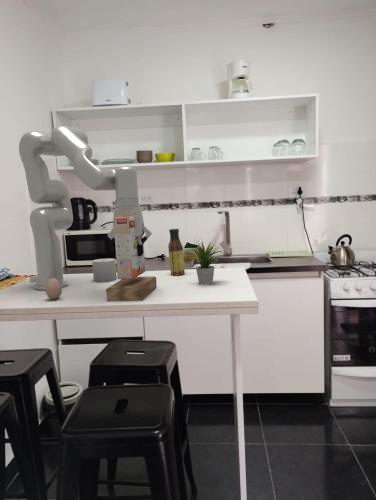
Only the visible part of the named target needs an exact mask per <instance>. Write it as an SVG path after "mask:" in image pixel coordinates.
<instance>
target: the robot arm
mask: <svg viewBox="0 0 376 500" xmlns="http://www.w3.org/2000/svg"><path fill="white" fill-rule="evenodd" d="M18 152H19V156H20V160H21V163H22V166H23V168H24V169H23V170H24V172H25V178H26V179H25V180H26V186H27V189H28V194H29V198H30V201H31V202H33V203H34V204H37V205H39V204H40V205H46V204H51V206H42V207H37V208H35V209H34V210H32V211H31V212H30V214H29V225H30V227H31V230H32V234H33V235H32V236H33V240H34V249H35V259H36V260H35V261H36V269H37V270H36V271H37V272H36V273H37V276H31V277H30V278H29V283H35V285H34V289H35V290H39V291H46V285H47V282H48V281H49V280H50V279H52V278H54V279H57V280H58V281H59V282H60V284H61V287H62V288H65V287H68V285H69V282H68V281H65V280H64V272H63V262H62V261H63V259H62V257H63V256H62V248H61V247H62V246H61V242H60V241H61V240H60V238H59V236H58V235H57V232H56V231H62V230H67V229H69V228H70V227H71V226H72V224H73V222H74V214H73V207H72V203H71V196H70V192H69V189H68V188H69V187H68V186H67V185H66V184H65V183H64V182H63V181H62V180H59V179H51V178H50V173H49V168H48V165H47V163H46V162H45V160H44V159H43V158H42V157H41V155H42V156H44V155H45V156H54V157H62V156H63V157H64V156H65V158H67V159H68V160H69V161H70V162H71V163H72V166H73V170H74V171H73V172H74V174H75V175H76V177H77V178H78V180H80V181H81V182H82V184H84V185H85V186H86V187H88V188H90V190H94V191H114V192H115V200H114V201H112V203H111V204H112V206H115V207H116V208H114V209H113V215H112V216H113V217H112V228H111V230H110V231H109V232H108V234H107V238H109V239H110V240H111V241H112V242H113V243H115V230H114V217H123V216H133V217H134V223H135V237H137V241H138V246H137V247H138V256H139V257H140V256H142V254H143V253H144V254H145V249H144V250H143V244H144V245H145V242H146V241H148V239H150V237H151V236H152V235H153V233H152V232H151V230H149V229H148V228H147V226H145V222H144V217H143V212H142V207H139V206H140V205H139V204H140V203H139V191H138V190H139V189H138V175H137V174H138V173H137V170H136V168H135V167H132V166H122V167H121V166H120V167H117V168H116V167H115V168H106V167H97V166H96V165H95V164H93V163H92V161H90V160H91V159H92V157H93V149H92V147H91V146H90V145H89V139H88V135H87V133H86V132H85V131H84V130H82V129H80V128H77V127H72V126H68V125H59V126H56V127H54V128H52V130H51V131H50V132H45V131H39V130H32V131H31V130H30V131H27V132H25V133H24V134H23V135H22V136H21V138H20V140H19V143H18ZM142 235H143V238H142Z"/></svg>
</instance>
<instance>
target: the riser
mask: <svg viewBox="0 0 376 500" xmlns="http://www.w3.org/2000/svg"><path fill="white" fill-rule="evenodd" d="M157 287H158V285H157V276H149V275H148V276H137V277H135V278H134V279H119V280H118V281H117V282H115V283H113V284H111V285H110V286H109V287H107V288H106V289H105V291H106V301H107V302H135V301H136V302H141V301H142V302H143V301H144V300H145V299H146V298H147V297H148V296H149V295H150V294H152V292H154V291H155V290H156V289H157Z"/></svg>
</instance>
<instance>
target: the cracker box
mask: <svg viewBox="0 0 376 500" xmlns="http://www.w3.org/2000/svg"><path fill="white" fill-rule="evenodd" d="M114 230H115V261H116V275H117V280H121V279H134V278H135V277H140V275H142V274H145V272H146V267H145V266H146V265H145V262H146V261H145V252H144V253H143V254H142V256H140V257H139V256H138V247H137V246H138V241H137V237H135V223H134V217H133V216H123V217H114ZM143 237H144V235H142V238H143ZM144 245H145V243H144V244H143V250H144V251H145V246H144Z"/></svg>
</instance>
